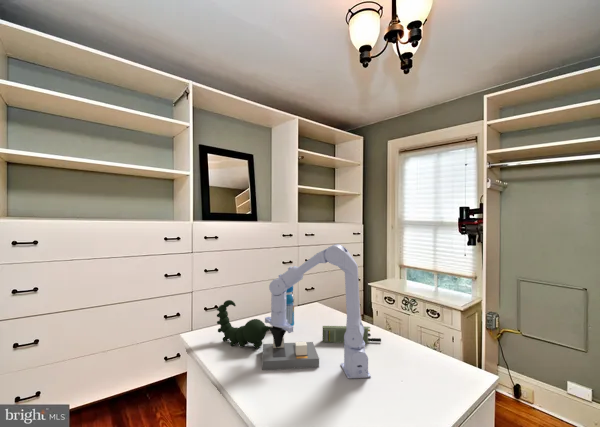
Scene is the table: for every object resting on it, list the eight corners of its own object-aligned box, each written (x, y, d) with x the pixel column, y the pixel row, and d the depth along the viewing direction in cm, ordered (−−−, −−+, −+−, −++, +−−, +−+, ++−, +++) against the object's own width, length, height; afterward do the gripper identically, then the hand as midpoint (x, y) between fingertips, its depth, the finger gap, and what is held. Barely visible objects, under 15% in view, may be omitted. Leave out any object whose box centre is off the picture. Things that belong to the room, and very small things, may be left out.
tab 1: (283, 347, 108) (283, 338, 108) (273, 347, 108) (273, 338, 108) (283, 344, 111) (283, 335, 111) (273, 344, 111) (273, 335, 111)
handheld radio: (322, 339, 124) (379, 341, 123) (322, 343, 120) (381, 344, 120) (322, 324, 124) (380, 325, 123) (322, 328, 120) (382, 329, 120)
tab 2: (307, 355, 102) (307, 345, 102) (296, 355, 102) (296, 345, 102) (305, 351, 105) (306, 341, 105) (295, 351, 105) (295, 342, 105)
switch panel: (319, 367, 100) (319, 358, 100) (262, 370, 98) (262, 361, 98) (312, 349, 114) (312, 341, 114) (262, 351, 112) (262, 343, 112)
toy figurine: (213, 349, 117) (267, 354, 109) (211, 302, 119) (264, 304, 110) (227, 340, 126) (277, 344, 118) (224, 297, 127) (274, 298, 119)
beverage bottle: (284, 330, 134) (285, 287, 135) (274, 325, 140) (274, 284, 141) (297, 325, 140) (298, 285, 140) (287, 321, 146) (287, 282, 146)
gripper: (299, 312, 105) (299, 349, 104) (274, 303, 115) (274, 337, 115) (285, 316, 100) (284, 355, 99) (260, 307, 110) (260, 342, 110)
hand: (278, 346), depth 107 cm, fingers closed
